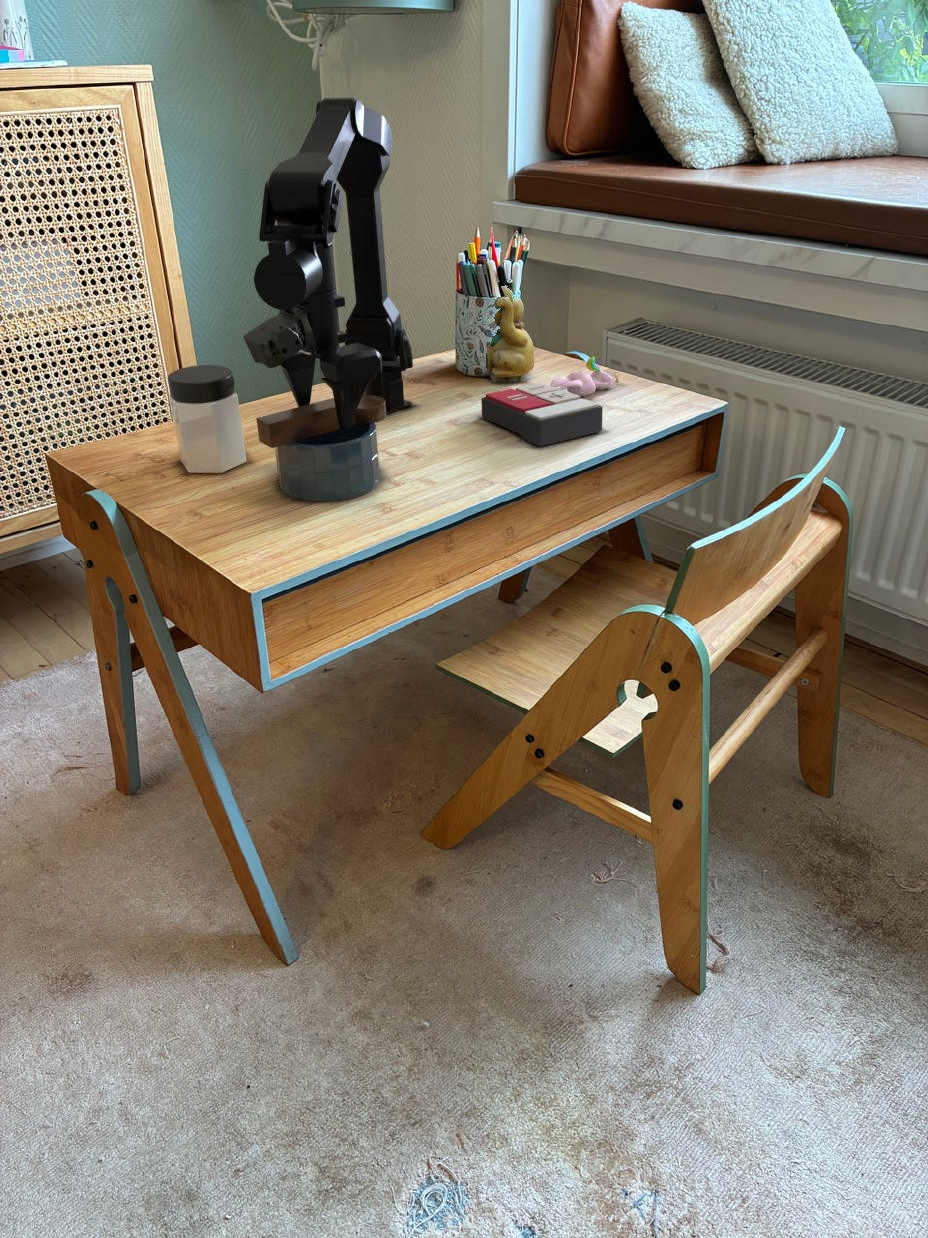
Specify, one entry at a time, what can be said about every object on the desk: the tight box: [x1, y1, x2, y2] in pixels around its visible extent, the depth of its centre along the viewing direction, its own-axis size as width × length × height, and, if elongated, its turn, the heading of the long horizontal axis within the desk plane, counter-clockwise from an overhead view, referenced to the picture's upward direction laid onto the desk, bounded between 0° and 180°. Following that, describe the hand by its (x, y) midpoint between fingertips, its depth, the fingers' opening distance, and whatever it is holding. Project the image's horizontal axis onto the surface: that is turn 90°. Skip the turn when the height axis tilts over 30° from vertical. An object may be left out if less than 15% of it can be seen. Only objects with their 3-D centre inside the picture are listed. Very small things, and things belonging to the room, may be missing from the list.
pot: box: [274, 423, 380, 503], centre depth 123 cm, size 13×13×7 cm
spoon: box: [255, 395, 387, 449], centre depth 120 cm, size 17×5×3 cm, turn 130°
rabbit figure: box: [549, 356, 620, 398], centre depth 151 cm, size 6×6×15 cm
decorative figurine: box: [485, 285, 535, 383], centre depth 157 cm, size 10×8×15 cm
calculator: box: [480, 381, 604, 447], centre depth 140 cm, size 11×4×15 cm
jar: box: [167, 364, 247, 474], centre depth 128 cm, size 9×8×12 cm
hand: (324, 419), depth 121 cm, fingers open, 9 cm apart
